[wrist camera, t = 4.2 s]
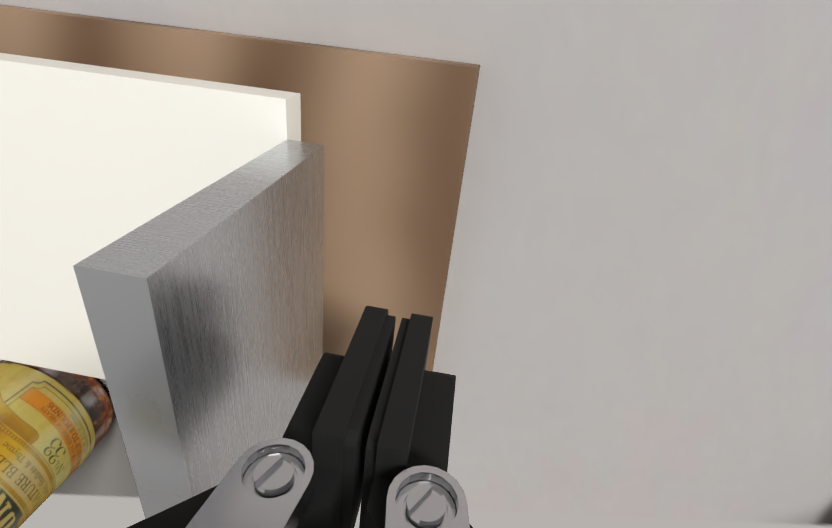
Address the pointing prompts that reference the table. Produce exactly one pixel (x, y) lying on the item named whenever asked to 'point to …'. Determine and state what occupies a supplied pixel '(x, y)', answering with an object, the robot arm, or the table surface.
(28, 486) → the sauce bottle
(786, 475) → the table surface
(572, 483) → the table surface
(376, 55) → the clip board
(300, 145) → the white bracket
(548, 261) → the table surface
